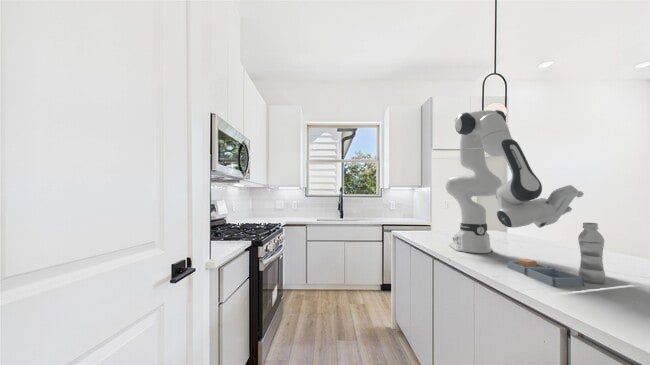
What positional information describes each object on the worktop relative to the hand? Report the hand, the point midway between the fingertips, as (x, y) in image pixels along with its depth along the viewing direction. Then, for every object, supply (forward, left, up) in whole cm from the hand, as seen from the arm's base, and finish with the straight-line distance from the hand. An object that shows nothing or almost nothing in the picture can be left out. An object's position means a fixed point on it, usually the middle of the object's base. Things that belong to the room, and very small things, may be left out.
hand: (575, 201), depth 109 cm
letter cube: (+2, -22, -26) cm, 34 cm away
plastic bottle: (+15, -10, -27) cm, 33 cm away
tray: (+14, -22, -27) cm, 37 cm away
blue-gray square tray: (+2, -22, -27) cm, 35 cm away
